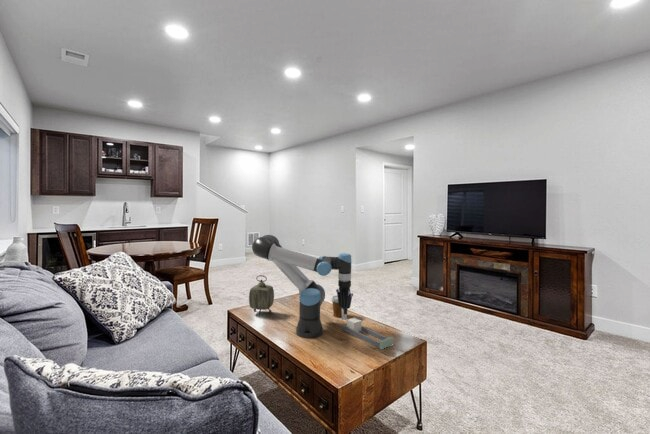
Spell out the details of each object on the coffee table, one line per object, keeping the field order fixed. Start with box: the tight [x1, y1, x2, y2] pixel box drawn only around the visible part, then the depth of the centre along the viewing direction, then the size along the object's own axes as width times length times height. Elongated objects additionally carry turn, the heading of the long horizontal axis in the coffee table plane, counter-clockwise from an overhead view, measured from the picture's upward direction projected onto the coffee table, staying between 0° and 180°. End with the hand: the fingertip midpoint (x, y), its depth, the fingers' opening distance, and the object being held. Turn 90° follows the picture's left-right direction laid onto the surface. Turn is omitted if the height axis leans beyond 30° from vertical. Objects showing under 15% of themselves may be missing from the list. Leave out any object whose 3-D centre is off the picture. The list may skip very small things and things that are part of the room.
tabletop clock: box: [248, 275, 275, 315], centre depth 203 cm, size 14×9×25 cm, turn 82°
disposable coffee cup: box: [331, 295, 342, 318], centre depth 202 cm, size 10×10×12 cm
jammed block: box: [346, 317, 363, 333], centre depth 180 cm, size 6×6×6 cm
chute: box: [341, 324, 394, 350], centre depth 172 cm, size 9×30×4 cm, turn 38°
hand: (344, 318), depth 187 cm, fingers closed
